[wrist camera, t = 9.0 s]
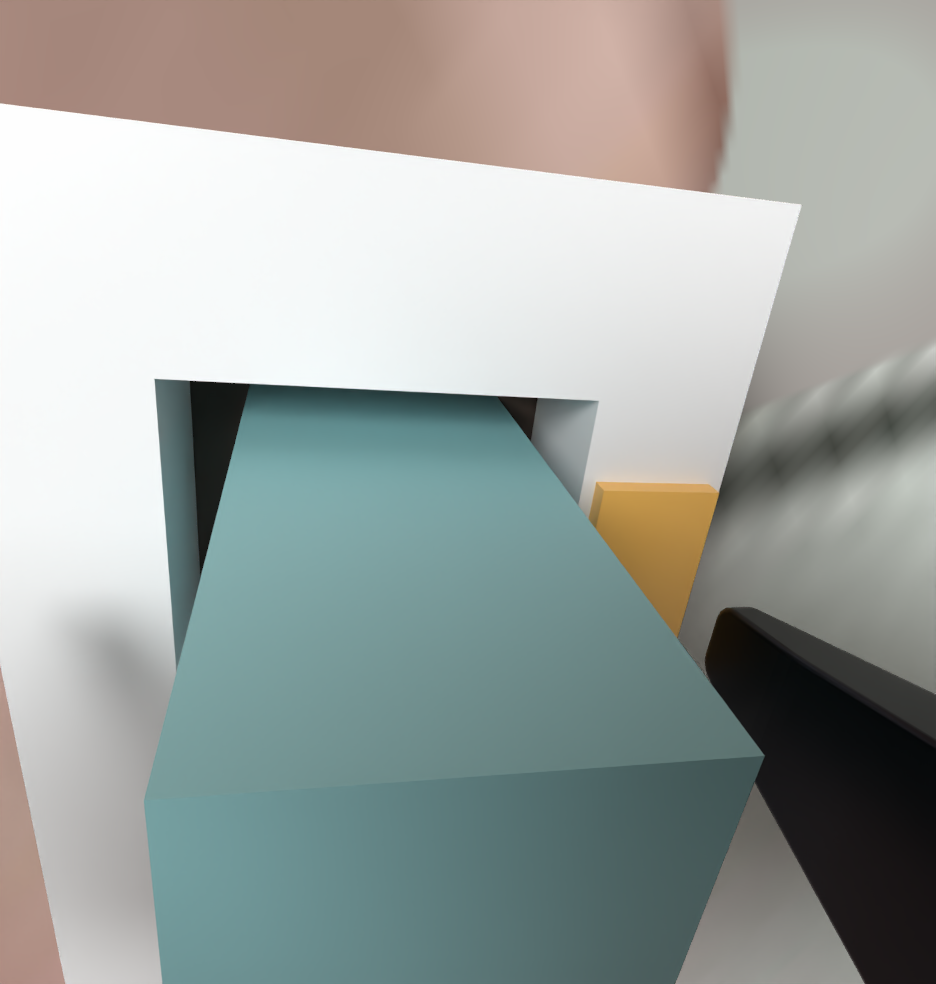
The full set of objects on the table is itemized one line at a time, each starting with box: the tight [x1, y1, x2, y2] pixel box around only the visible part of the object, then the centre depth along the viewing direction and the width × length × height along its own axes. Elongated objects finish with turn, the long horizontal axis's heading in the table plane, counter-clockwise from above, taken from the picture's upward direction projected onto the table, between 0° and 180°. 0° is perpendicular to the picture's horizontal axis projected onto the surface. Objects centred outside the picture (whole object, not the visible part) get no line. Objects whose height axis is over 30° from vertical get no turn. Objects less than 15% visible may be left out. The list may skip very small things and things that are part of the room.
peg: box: [144, 384, 765, 984], centre depth 9 cm, size 4×4×8 cm
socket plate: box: [0, 104, 801, 984], centre depth 13 cm, size 10×22×3 cm, turn 173°
